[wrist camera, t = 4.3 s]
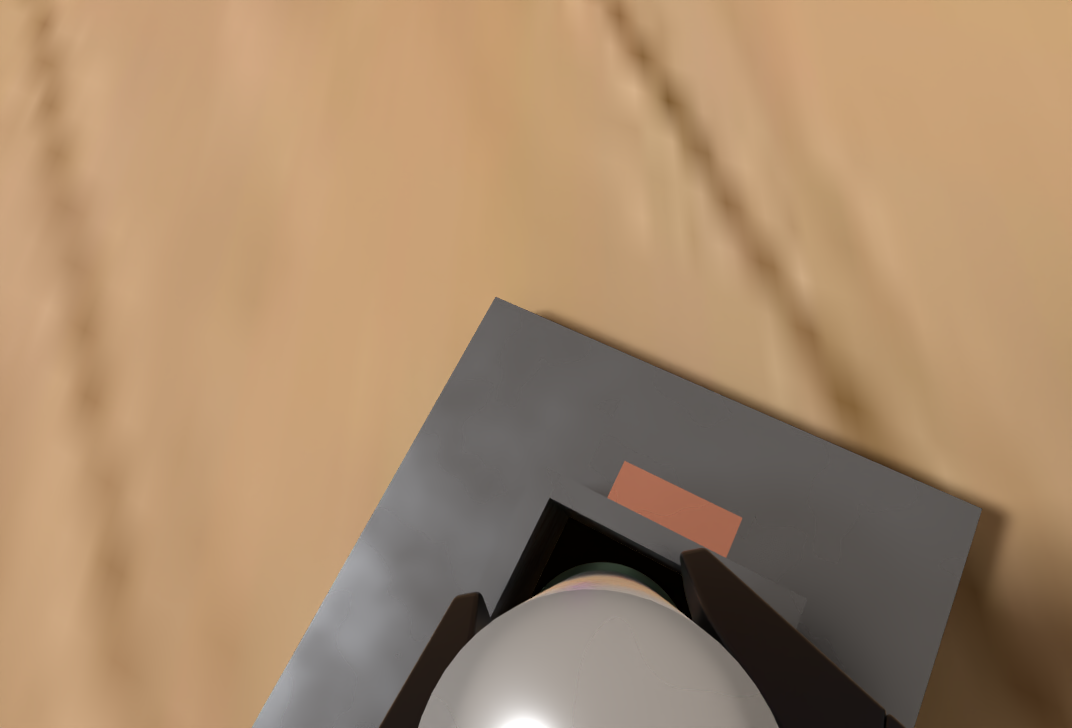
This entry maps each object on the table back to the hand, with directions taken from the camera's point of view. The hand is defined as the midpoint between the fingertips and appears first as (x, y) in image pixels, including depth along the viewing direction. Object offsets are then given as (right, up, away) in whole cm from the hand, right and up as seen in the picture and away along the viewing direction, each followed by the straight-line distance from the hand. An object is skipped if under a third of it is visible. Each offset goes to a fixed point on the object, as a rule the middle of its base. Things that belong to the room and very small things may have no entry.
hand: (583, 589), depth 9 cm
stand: (+1, -4, +7) cm, 8 cm away
